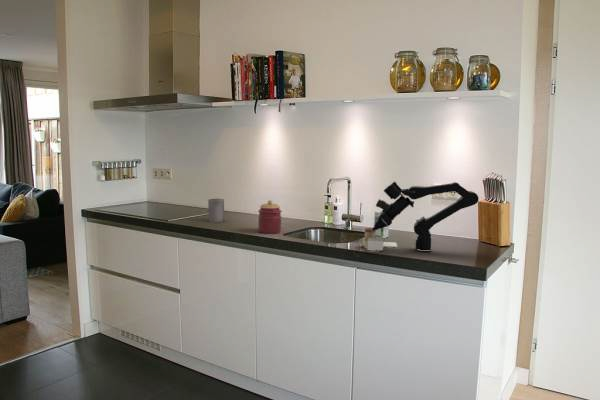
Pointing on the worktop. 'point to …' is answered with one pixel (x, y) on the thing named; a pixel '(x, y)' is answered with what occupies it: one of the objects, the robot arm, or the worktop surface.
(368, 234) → the oak block
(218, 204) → the pillar candle
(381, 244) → the screen
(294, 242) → the worktop surface
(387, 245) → the display pad
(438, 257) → the worktop surface
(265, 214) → the canister
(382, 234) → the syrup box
